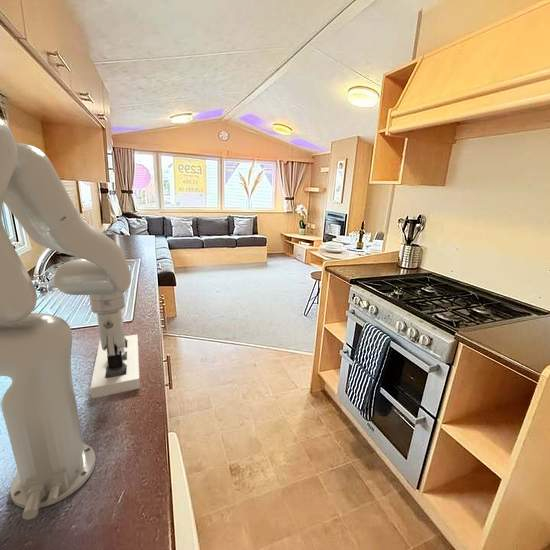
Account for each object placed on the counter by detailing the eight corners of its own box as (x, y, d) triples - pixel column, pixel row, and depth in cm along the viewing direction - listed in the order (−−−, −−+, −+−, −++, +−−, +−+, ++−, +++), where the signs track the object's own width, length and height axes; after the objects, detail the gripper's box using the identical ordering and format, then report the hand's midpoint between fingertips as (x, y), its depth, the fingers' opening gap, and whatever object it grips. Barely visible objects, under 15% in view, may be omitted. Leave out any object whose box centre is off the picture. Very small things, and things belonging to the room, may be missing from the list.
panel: (140, 388, 80) (139, 378, 79) (91, 398, 75) (90, 388, 74) (138, 342, 102) (137, 334, 101) (101, 348, 98) (99, 339, 97)
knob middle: (126, 360, 87) (124, 347, 86) (108, 363, 85) (106, 350, 84) (126, 352, 91) (125, 340, 90) (109, 355, 89) (107, 343, 88)
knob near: (126, 382, 81) (125, 369, 80) (107, 386, 79) (105, 373, 78) (126, 372, 85) (125, 360, 84) (108, 376, 83) (106, 363, 82)
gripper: (123, 311, 71) (131, 379, 76) (125, 291, 84) (131, 350, 89) (86, 316, 68) (96, 386, 73) (93, 294, 81) (102, 354, 86)
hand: (115, 366), depth 81 cm, fingers closed
